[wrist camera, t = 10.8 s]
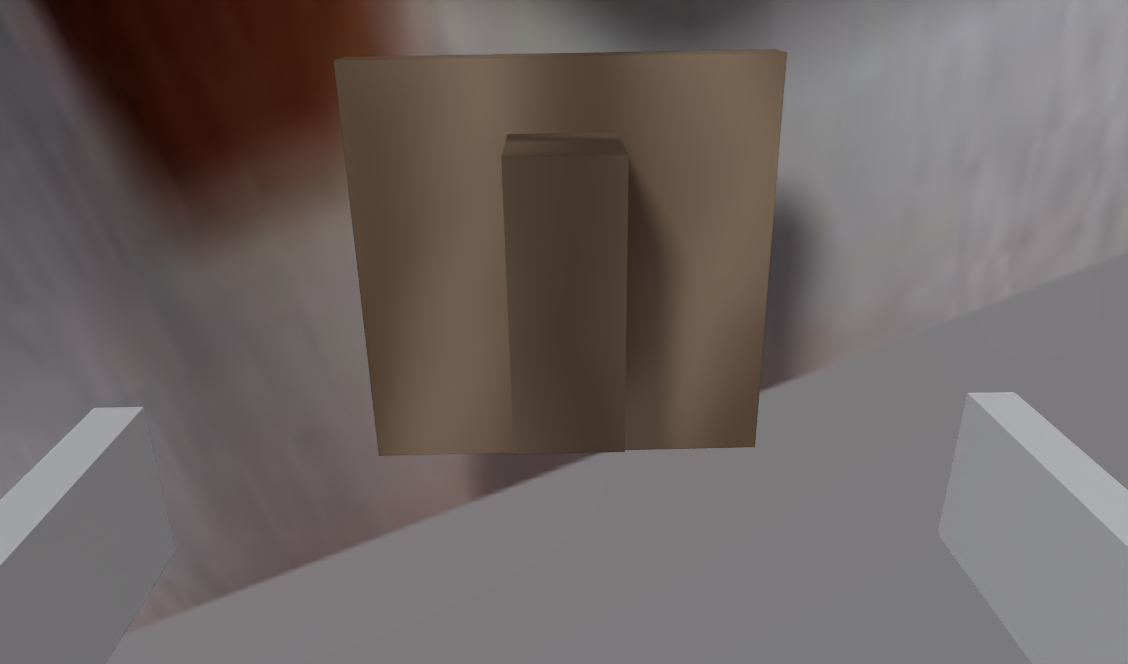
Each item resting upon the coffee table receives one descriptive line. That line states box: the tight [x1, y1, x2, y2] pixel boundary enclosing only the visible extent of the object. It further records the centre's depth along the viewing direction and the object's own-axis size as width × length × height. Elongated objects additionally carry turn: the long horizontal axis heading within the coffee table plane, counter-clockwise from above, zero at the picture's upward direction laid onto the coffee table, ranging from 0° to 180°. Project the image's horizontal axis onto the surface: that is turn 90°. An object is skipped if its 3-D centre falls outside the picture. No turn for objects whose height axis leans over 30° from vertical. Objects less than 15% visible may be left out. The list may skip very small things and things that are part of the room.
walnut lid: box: [334, 50, 787, 456], centre depth 23 cm, size 12×12×5 cm
